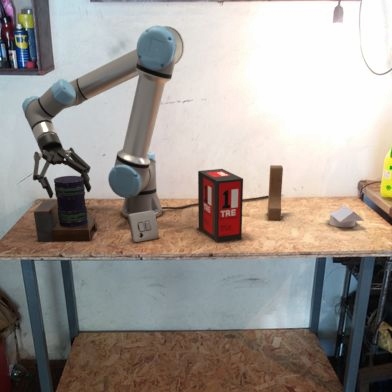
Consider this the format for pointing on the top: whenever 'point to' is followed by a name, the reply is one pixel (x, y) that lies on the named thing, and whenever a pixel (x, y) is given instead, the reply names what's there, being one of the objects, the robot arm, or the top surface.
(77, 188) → the blue oil drum
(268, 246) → the top surface
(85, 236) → the l-shaped metal base
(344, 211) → the wedge on round base
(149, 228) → the electrical switch
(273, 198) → the wooden block
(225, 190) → the cleaning product box
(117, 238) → the top surface
